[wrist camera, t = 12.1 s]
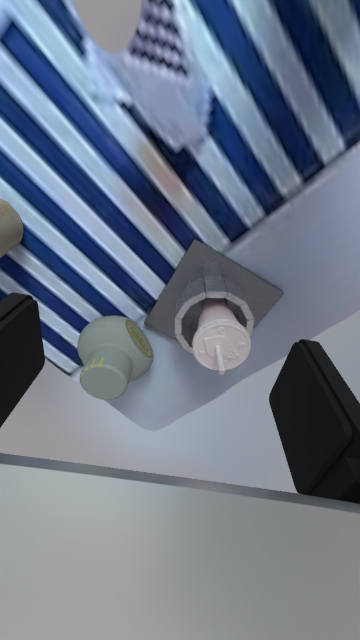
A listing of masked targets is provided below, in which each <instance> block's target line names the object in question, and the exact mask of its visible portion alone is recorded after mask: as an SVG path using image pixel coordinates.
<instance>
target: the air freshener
mask: <svg viewBox="0 0 360 640" xmlns="http://www.w3.org/2000/svg"><path fill="white" fill-rule="evenodd" d="M77 349H78V353H79V356H80V358H81V360H82V362H83V364H84V365H85V366H84V368H83V370H82V372H81V375H80V383H81V385H82V387H83V388H84V390H85V391H86V392H87V393H88V394H90V395H92V396H93V397H96V398H99V399H104V400H109V399H114V398H117V397H119V396H120V395H122V394H123V393H124V391H126V388H127V385H128V382H131V381H133V380H136V379H138V378H139V377H141V376H142V375H143V374H144V373H145V372H146V371H147V370H148V369H149V367H150V365H151V363H152V361H153V351H152V348H151V345H150V343H149V341H148V339H147V338H146V336H145V334H144V333H143V332H142V330H141V329H140V328H139V327H138V325H137V324H136V323H135V322H134V321H132V320H131V319H129V318H125V317H121V316H105V317H101V318H98V319H96V320H94V321H92V322H91V323H89V324H88V325H87V326H86V327H85V328H84V329H83V331H82V332H81V334H80V336H79V340H78V346H77Z"/></svg>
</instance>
